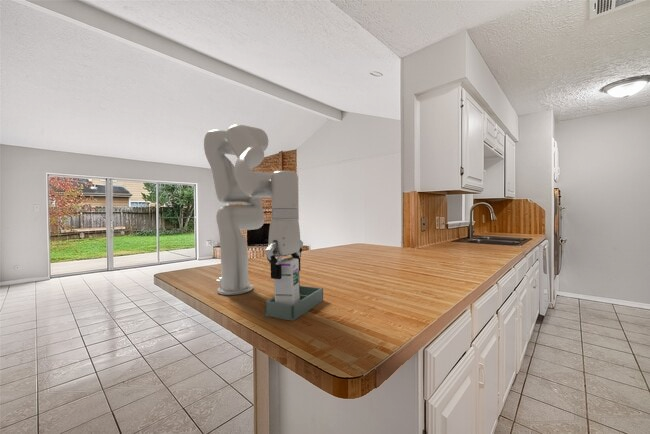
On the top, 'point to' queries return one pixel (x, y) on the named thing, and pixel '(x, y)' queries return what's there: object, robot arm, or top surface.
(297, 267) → the syrup box
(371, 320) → the top surface
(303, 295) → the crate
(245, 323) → the top surface
